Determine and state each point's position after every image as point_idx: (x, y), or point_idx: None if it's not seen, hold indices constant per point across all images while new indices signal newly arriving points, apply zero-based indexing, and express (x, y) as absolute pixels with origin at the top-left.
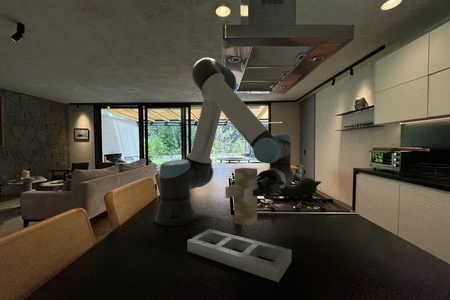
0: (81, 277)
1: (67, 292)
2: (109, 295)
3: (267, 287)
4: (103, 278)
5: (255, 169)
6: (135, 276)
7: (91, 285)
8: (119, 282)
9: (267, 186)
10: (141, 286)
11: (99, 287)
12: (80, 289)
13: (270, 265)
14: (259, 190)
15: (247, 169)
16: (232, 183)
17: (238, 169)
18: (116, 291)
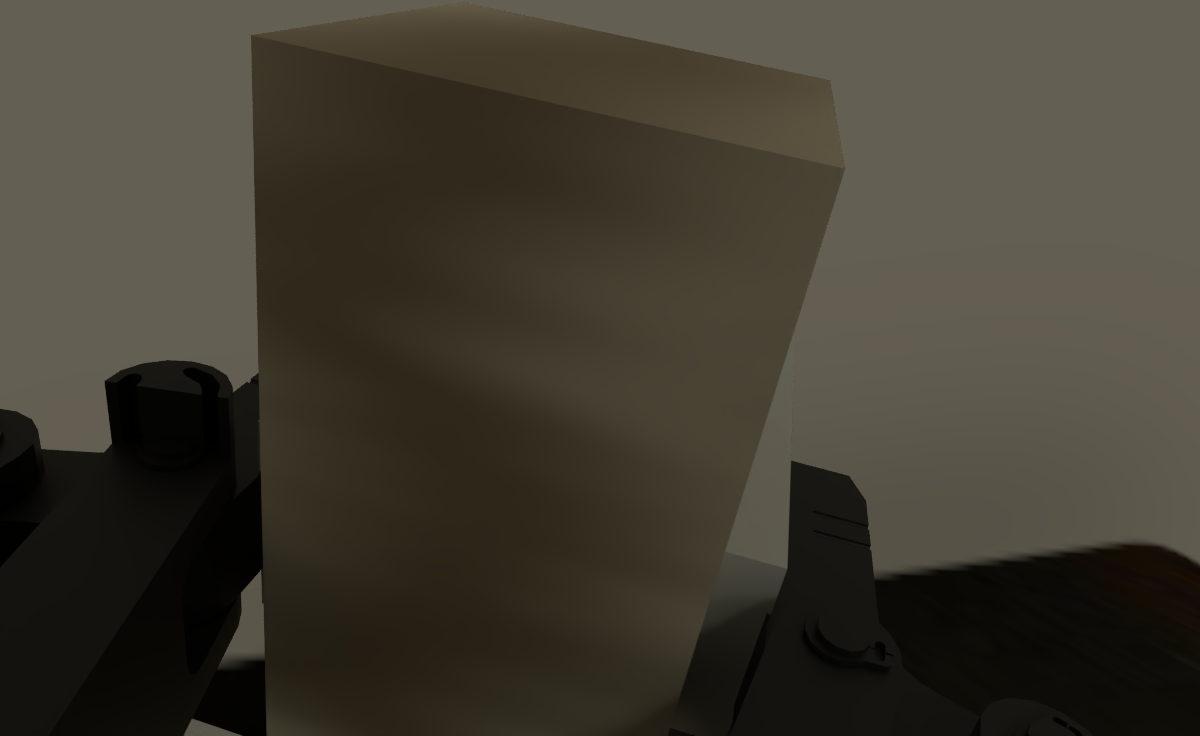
0: (1190, 630)
1: (1098, 558)
2: (954, 564)
3: (253, 714)
4: (1107, 639)
5: (332, 36)
6: (1007, 674)
7: (1083, 597)
8: (1015, 627)
9: (10, 426)
10: (903, 620)
11: (1042, 592)
12: (1084, 575)
13: (205, 734)
14: (253, 389)
15: (538, 31)
16: (1010, 714)
17: (732, 62)
18: (957, 583)
